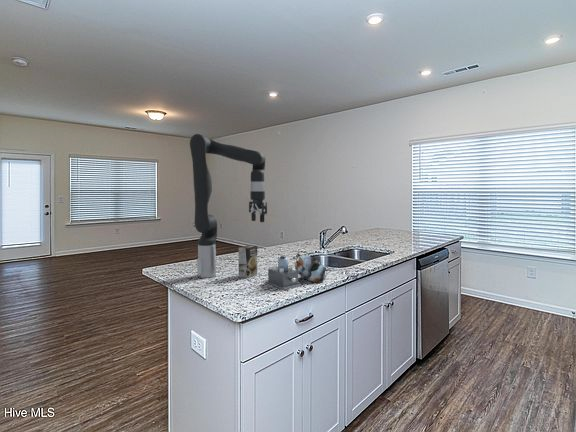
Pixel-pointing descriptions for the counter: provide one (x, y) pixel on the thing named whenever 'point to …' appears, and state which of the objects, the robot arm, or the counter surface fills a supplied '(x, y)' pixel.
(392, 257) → the counter surface
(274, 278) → the motor
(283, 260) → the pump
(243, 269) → the coffee box
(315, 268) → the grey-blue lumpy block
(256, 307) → the counter surface
